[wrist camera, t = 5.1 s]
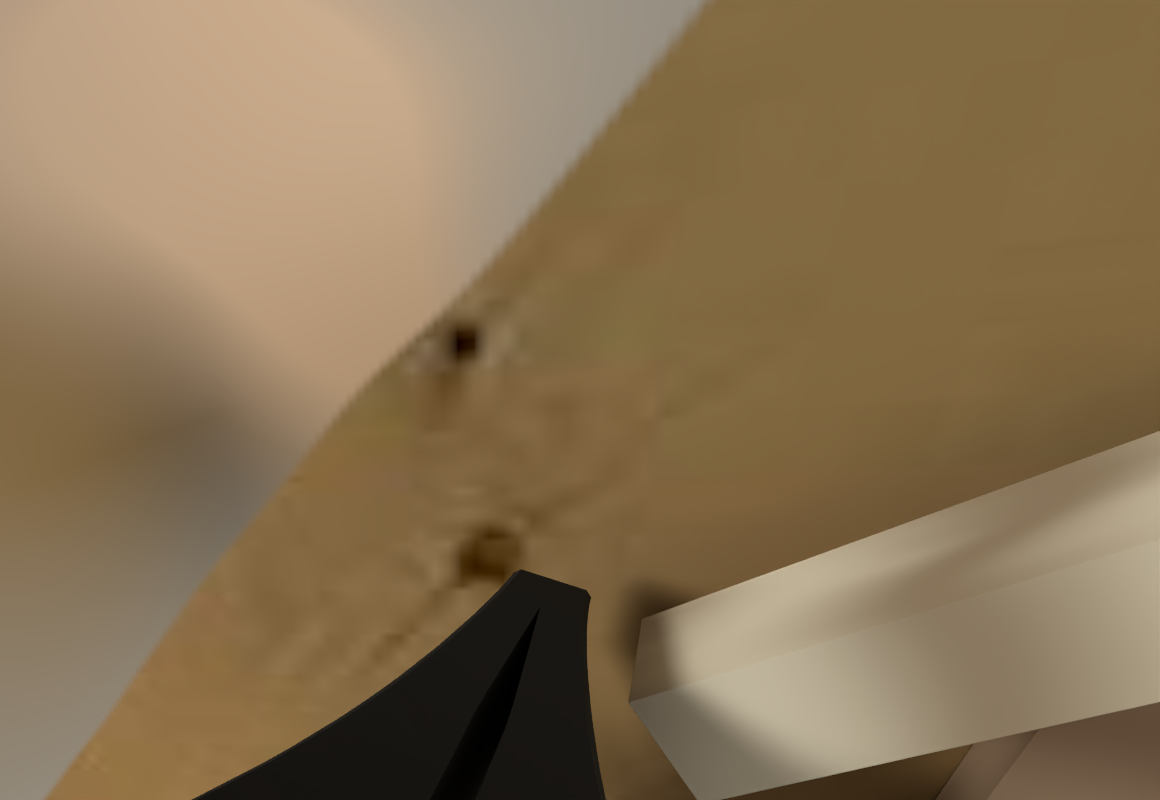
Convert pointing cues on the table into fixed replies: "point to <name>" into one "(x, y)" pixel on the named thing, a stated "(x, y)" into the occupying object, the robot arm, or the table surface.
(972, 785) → the stool seat
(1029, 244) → the table surface
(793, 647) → the hinged leg
